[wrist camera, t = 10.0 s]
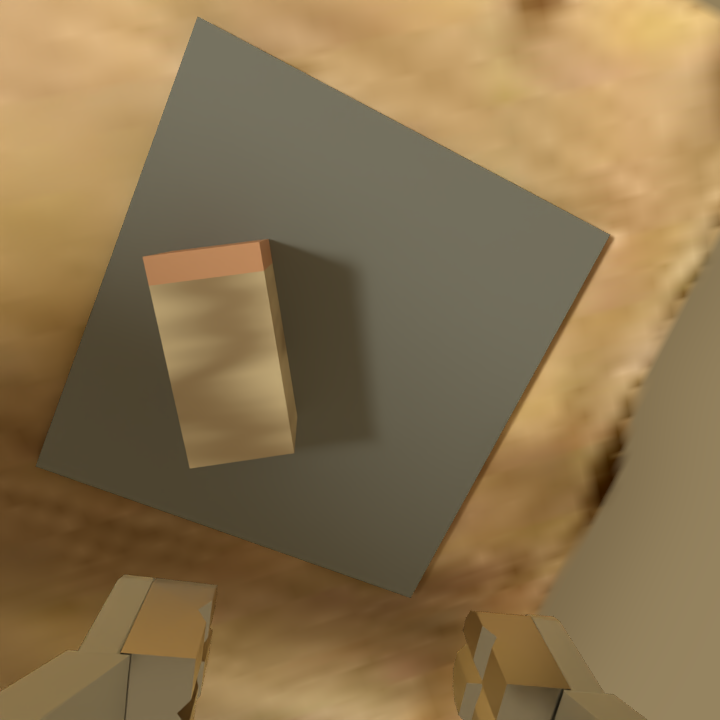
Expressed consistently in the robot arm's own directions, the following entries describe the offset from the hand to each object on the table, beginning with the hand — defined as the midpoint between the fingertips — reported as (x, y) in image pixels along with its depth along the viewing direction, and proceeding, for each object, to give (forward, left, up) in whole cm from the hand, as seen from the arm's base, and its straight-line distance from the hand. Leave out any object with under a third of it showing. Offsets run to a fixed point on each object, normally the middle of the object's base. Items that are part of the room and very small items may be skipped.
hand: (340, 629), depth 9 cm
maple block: (-2, -3, -14) cm, 14 cm away
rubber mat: (-1, +1, -16) cm, 16 cm away
